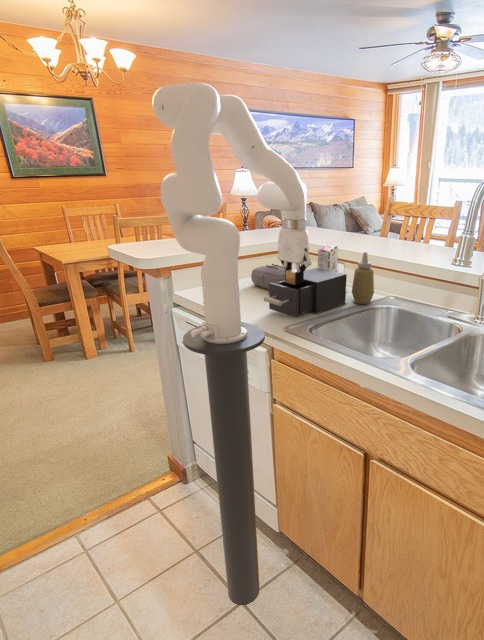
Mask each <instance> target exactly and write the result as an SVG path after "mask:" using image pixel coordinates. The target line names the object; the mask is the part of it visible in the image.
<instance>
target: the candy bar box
mask: <svg viewBox="0 0 484 640" xmlns="http://www.w3.org/2000/svg"><path fill="white" fill-rule="evenodd" d="M338 256H339V246H338V245H330V244H327V245H325V246H323V247H321V248H320V249H318V250H317V268H320V269H325V270H329V271H334V272H338V259H339V258H338Z"/></svg>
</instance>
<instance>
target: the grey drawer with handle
mask: <svg viewBox="0 0 484 640" xmlns="http://www.w3.org/2000/svg"><path fill="white" fill-rule="evenodd" d="M263 301H264V302H265V303H268V309H270V310H272V311H275V312H278V313H281V314H284V315H286V316H287V315H288V316H290V317H293V318H299V317H300V315H301V314H305V313H307V312H308V311H310V310H313V309H315V284H311V283H307V282H303V283H301V284H298V285H297V284H296V285H293V284H289V283H286V281H281V282H277V283H276V284H275V283H269V289H268V296H264V297H263Z"/></svg>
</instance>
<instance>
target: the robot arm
mask: <svg viewBox="0 0 484 640" xmlns="http://www.w3.org/2000/svg"><path fill="white" fill-rule="evenodd" d="M151 103H152V110H153V113H154V115H155V117H156V118H157V120H158V121H159V122H160V123H161V124H162V125H163V126H165V127H167V128H169V129H172V130H173V131H172V134H171V139H170V156H171V159H172V163H173V166H174V170H175V171H174V172H170V173H169V174H167V175H165V177H164V178H163V179H162V182H161V185H160V200H161V204H162V207H163V210H164V213H165V214H166V217H167V220H168V223H169V226H170V227H171V231H172V232H173V235H174V238H175V240H176V242H177V243H178V245H179V246H180V248H182V249H183V250H185V251H187V252H189V253H193V254H199V255H203V256H205V258H204V260H203V263H202V266H201V270H200V279H201V280H200V281H201V288H202V298H203V309H204V320H205V321H203V322H202V323H201V324H202V325H200V326H201V327H200V328H199V329H195V330H191V329H190V330H191V336H192V337H197V336H200V335H201V338H202V339H203V340H204V341H206V342H209V343H214V344H228V343H234V342H238V341H240V340H242V339H244V338H245V337H246V336H247V330H246V329H245V328H244V327H242V326H241V323H242V317H241V301H240V300H241V299H240V283H239V251H240V245H241V235H240V231H239V228H237V226H236V225H235V224H234V223H233V222H232V221H230V220H228V219H225V218H221V217H215V216H214V215H216V214H217V213H218V212H220V211H221V210H222V206H223V195H222V191H221V187H220V184H219V180H218V177H217V174H216V170H215V167H214V163H213V160H212V156H211V152H210V151H211V150H210V140H211V137H212V136H217V135H219V136H222V137H223V138H224V139H225V141H226V143H227V144H228V146H229V147H230V149H231V151H232V152H233V154H234V156H235V158H236V159H237V160H238V163H239V164H240V165H241V166H242V167H243V168H245V169H247V170H248V171H250V172H252V173H254V174H257V175H259V176H261V177H264V178H266V179H268V180H270V181H266V182H263V184H261V185H260V186H259V188H258V190H257V200H258V203H259V204H260V205H261V206H262V207H264V208H265V209H269V210H274V211H275V210H276V211H281V219H280V223H281V227H280V228H279V233H278V241H277V259H278V260H279V261H280V263H281V266H283V268H284V269H285V281H286V270H291V269H294V268H293V264H295V267H296V268H295V269H297V272H296V284H297V285H298V284H301V283H303V282H304V271H306V269H307V268H308V267H310V266H311V265H312V260H311V259H310V243H309V242H310V241H309V233H308V230H307V186H306V183H305V182H302V179H301V178H300V176H299V174H298V172H297V171H296V170H295V168H294V167H293V166H292V164H290V163H289V162H288V161H287V160H286V159H284V158H283V157H282V156H281V155H280V154H278V152H276V151H275V150H273V149H272V148H271V147H270V146H269V145H268V143H267V142H266V139H265V138H264V136H263V135H262V132H261V131H260V129H259V128H258V124H256V121H255V120H254V117H253V116H252V114H251V112H250V110H249V109H248V106H247V104H246V103H245V102H244V101H243V99H242V98H241V97H239V96H237V95H234V94H219V93H218V91H217V90H216V89H215V88H214V87H213V86H212V85H210V84H208V83H205V82H185V83H179V84H169V85H163V86H160V87H159V88H158V89H157V90H156V91H155V92H154V94H153V95H152V102H151Z"/></svg>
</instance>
